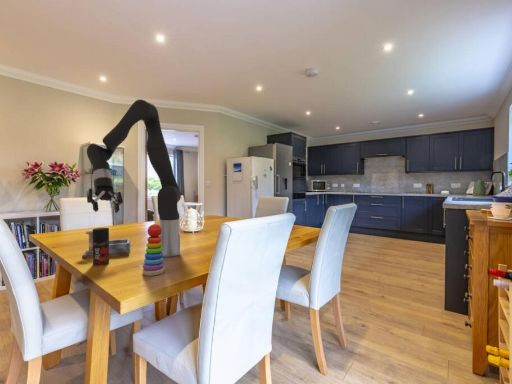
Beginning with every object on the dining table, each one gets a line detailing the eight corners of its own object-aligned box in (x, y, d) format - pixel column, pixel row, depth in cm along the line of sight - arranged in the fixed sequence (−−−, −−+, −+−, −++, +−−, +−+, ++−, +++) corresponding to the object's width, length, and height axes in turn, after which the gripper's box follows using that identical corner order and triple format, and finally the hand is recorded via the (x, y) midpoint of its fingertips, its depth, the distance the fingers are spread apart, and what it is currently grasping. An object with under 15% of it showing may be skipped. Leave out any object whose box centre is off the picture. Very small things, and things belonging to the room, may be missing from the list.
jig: (130, 249, 134) (130, 227, 133) (129, 254, 123) (129, 230, 123) (87, 252, 126) (86, 229, 126) (82, 258, 116) (81, 233, 115)
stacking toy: (157, 277, 93) (156, 226, 93) (137, 275, 95) (137, 225, 95) (168, 270, 101) (168, 223, 101) (150, 268, 103) (150, 222, 102)
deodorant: (91, 267, 104) (91, 230, 104) (94, 262, 110) (93, 228, 110) (108, 265, 107) (107, 229, 106) (109, 261, 112) (109, 227, 112)
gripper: (89, 174, 113) (93, 206, 107) (122, 179, 125) (127, 208, 118) (82, 182, 117) (85, 214, 111) (114, 186, 128) (119, 215, 122)
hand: (107, 211), depth 115 cm, fingers open, 8 cm apart
